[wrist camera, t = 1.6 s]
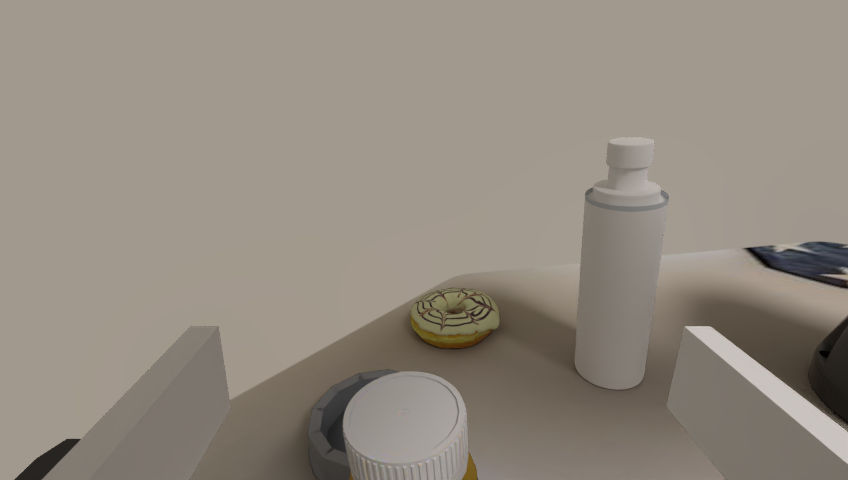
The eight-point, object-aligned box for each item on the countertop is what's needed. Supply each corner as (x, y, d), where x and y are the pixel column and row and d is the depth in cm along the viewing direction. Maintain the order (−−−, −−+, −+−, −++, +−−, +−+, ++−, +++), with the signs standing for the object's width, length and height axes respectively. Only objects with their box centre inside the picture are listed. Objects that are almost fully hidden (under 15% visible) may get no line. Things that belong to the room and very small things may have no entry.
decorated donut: (516, 336, 52) (516, 309, 51) (437, 367, 48) (434, 338, 47) (470, 298, 61) (469, 274, 60) (400, 322, 57) (397, 296, 56)
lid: (435, 384, 45) (433, 360, 44) (455, 488, 34) (453, 459, 33) (318, 400, 44) (313, 376, 43) (299, 512, 33) (291, 483, 32)
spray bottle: (574, 344, 49) (588, 117, 40) (639, 352, 47) (671, 114, 38) (574, 384, 44) (590, 129, 34) (648, 395, 42) (688, 126, 32)
